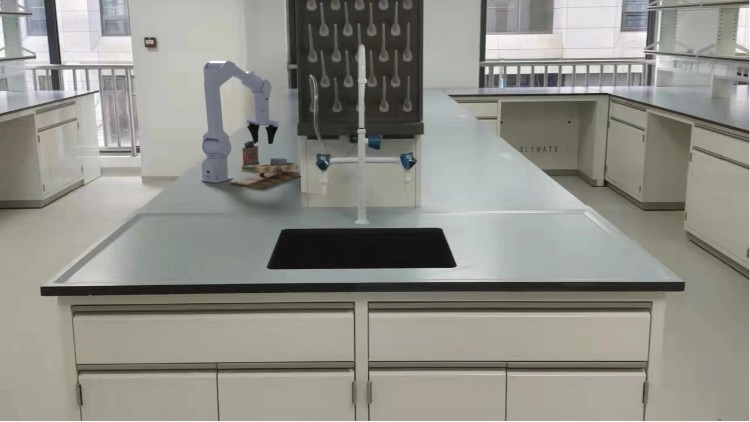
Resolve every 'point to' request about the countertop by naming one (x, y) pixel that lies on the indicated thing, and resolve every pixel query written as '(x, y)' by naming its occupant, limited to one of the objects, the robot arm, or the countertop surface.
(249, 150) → the red tin
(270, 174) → the stand
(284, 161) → the grey block
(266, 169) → the beam
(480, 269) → the countertop surface
